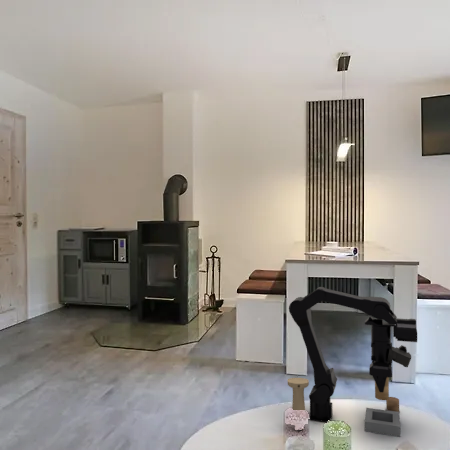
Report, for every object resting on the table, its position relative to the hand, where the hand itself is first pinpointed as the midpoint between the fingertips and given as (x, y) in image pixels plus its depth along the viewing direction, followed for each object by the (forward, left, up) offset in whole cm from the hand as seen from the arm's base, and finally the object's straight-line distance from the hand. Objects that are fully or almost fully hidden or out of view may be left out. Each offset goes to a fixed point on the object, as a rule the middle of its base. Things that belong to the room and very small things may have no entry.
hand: (381, 389), depth 131 cm
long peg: (0, 0, -3) cm, 2 cm away
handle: (-24, -10, -12) cm, 28 cm away
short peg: (+3, +12, -12) cm, 17 cm away
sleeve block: (0, 0, -12) cm, 12 cm away
